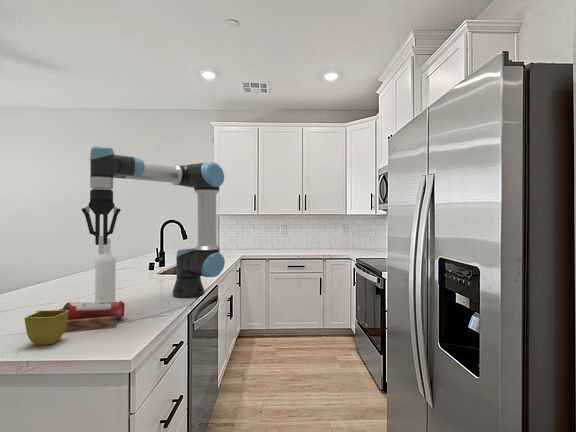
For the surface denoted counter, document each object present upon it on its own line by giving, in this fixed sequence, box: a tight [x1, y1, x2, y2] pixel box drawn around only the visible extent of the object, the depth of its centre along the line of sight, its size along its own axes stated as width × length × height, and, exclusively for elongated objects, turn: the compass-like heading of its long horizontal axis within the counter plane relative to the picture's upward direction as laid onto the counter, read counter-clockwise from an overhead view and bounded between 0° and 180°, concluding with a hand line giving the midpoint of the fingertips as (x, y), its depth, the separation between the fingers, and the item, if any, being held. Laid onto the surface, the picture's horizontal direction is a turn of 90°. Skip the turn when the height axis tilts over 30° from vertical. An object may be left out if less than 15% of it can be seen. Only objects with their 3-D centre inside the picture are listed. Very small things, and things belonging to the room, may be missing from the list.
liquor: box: [35, 300, 125, 320], centre depth 133 cm, size 7×7×28 cm
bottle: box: [94, 236, 117, 302], centre depth 156 cm, size 8×8×30 cm
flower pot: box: [24, 309, 69, 346], centre depth 113 cm, size 9×9×9 cm
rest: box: [64, 316, 119, 333], centre depth 131 cm, size 25×15×3 cm, turn 111°
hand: (101, 253), depth 133 cm, fingers closed
